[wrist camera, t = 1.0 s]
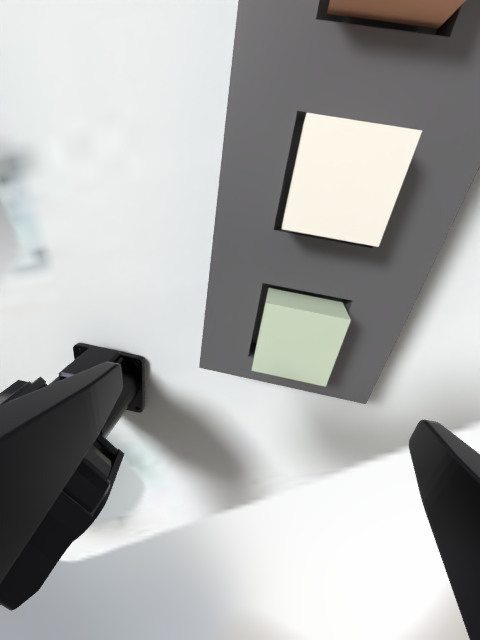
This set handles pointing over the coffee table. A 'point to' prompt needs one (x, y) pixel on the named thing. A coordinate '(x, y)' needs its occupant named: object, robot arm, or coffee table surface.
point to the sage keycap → (300, 336)
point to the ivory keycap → (347, 178)
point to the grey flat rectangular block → (279, 160)
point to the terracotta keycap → (397, 10)
